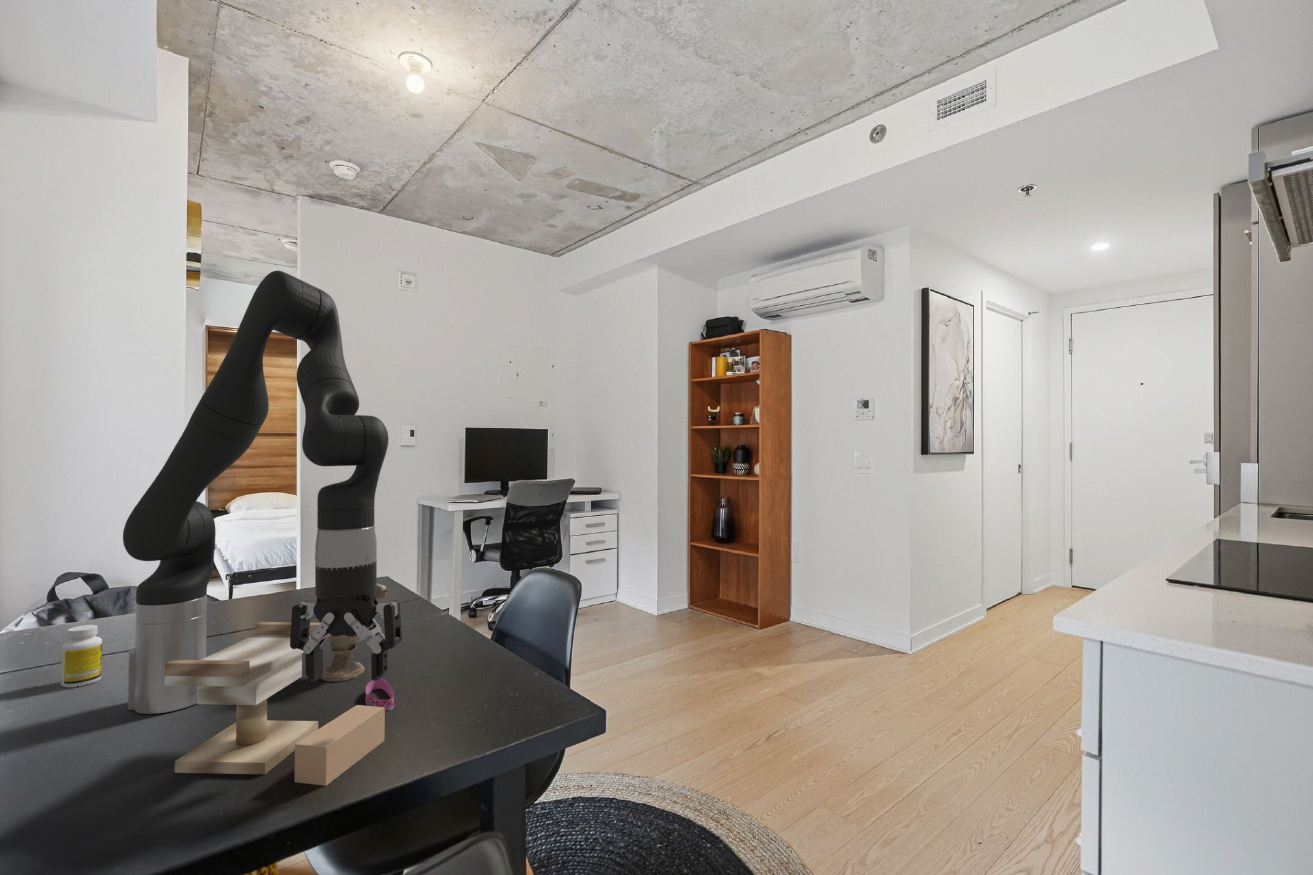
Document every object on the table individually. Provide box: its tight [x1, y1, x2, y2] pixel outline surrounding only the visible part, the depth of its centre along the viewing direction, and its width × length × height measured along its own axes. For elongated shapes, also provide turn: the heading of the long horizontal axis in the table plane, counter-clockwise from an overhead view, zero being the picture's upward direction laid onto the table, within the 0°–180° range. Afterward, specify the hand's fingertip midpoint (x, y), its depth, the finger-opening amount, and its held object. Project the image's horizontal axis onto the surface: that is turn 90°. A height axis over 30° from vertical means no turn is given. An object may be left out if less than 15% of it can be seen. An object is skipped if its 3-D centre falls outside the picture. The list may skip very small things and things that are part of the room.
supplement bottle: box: [60, 624, 103, 688], centre depth 110 cm, size 5×5×10 cm
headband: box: [365, 677, 395, 712], centre depth 103 cm, size 11×4×2 cm, turn 35°
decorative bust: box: [320, 583, 389, 682], centre depth 115 cm, size 11×13×25 cm
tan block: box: [294, 704, 386, 786], centre depth 84 cm, size 4×12×5 cm, turn 170°
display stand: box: [165, 621, 320, 775], centre depth 86 cm, size 12×18×15 cm, turn 179°
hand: (346, 678), depth 84 cm, fingers open, 8 cm apart
